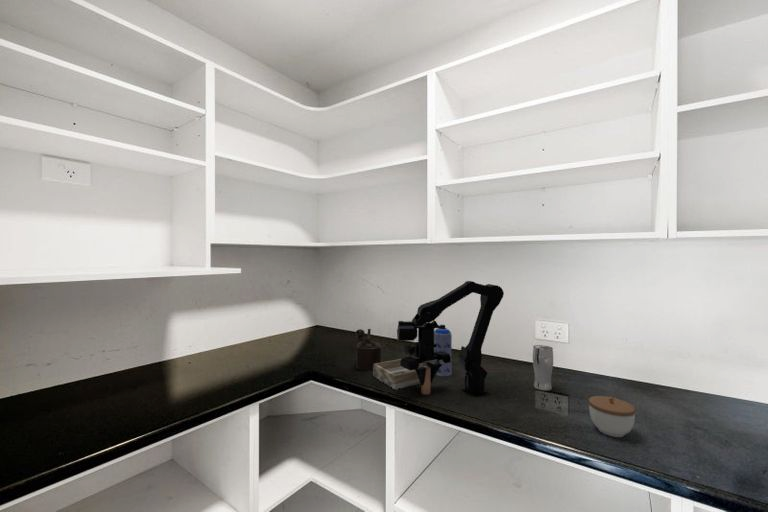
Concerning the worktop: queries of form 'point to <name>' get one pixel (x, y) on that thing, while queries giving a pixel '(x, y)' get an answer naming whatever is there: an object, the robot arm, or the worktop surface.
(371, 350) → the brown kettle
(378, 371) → the tray
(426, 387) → the peg
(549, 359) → the beer glass
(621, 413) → the lidded jar
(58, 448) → the worktop surface
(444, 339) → the aerosol can
